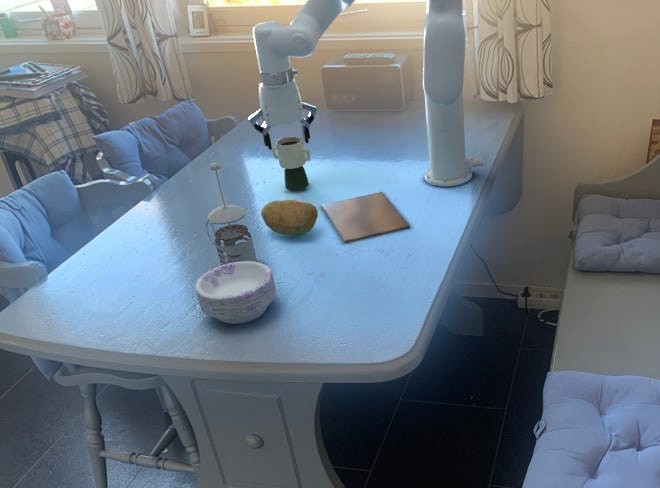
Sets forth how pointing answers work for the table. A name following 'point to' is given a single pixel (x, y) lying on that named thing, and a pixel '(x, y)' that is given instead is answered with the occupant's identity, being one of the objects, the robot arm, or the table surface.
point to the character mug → (292, 161)
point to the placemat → (364, 217)
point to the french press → (230, 232)
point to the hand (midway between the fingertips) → (288, 145)
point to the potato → (289, 216)
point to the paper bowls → (236, 291)
